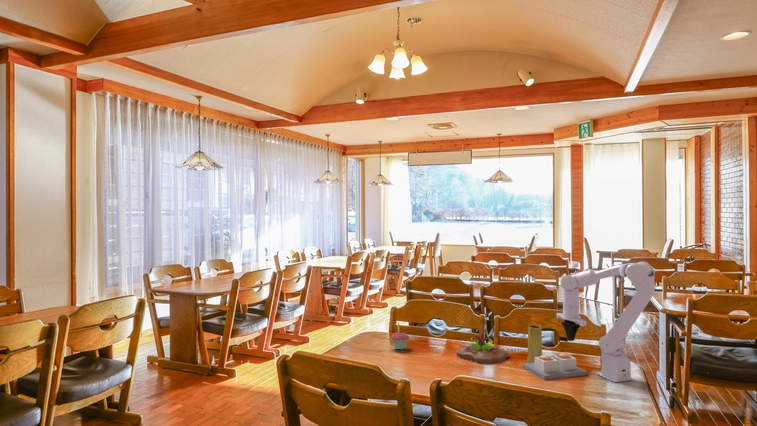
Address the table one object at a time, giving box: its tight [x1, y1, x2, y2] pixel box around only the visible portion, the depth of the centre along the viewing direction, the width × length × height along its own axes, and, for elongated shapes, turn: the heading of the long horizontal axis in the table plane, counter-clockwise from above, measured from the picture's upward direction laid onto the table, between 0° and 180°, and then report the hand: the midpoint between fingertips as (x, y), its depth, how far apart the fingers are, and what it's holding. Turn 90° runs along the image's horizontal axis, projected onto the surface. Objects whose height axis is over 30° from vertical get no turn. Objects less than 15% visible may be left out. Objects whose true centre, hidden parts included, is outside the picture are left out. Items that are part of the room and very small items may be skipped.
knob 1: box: [541, 354, 552, 361], centre depth 173 cm, size 4×4×5 cm
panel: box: [521, 354, 587, 381], centre depth 175 cm, size 14×18×5 cm
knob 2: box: [558, 352, 571, 359], centre depth 175 cm, size 4×4×5 cm
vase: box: [526, 324, 543, 363], centre depth 186 cm, size 6×6×14 cm
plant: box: [455, 328, 509, 365], centre depth 195 cm, size 20×20×11 cm
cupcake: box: [390, 322, 410, 350], centre depth 206 cm, size 9×8×12 cm
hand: (570, 340), depth 180 cm, fingers closed
